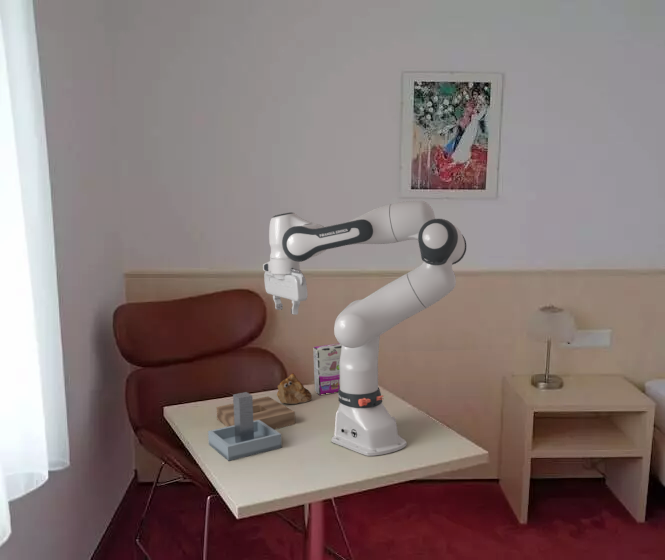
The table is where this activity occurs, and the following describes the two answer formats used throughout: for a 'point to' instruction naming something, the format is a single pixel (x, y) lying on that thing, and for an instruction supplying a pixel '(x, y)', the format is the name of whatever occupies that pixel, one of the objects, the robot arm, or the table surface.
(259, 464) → the table surface
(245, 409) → the pin
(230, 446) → the tray
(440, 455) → the table surface
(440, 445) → the table surface
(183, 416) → the table surface
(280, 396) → the decorative rock
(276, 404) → the block
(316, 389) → the candy bar box
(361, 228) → the robot arm
